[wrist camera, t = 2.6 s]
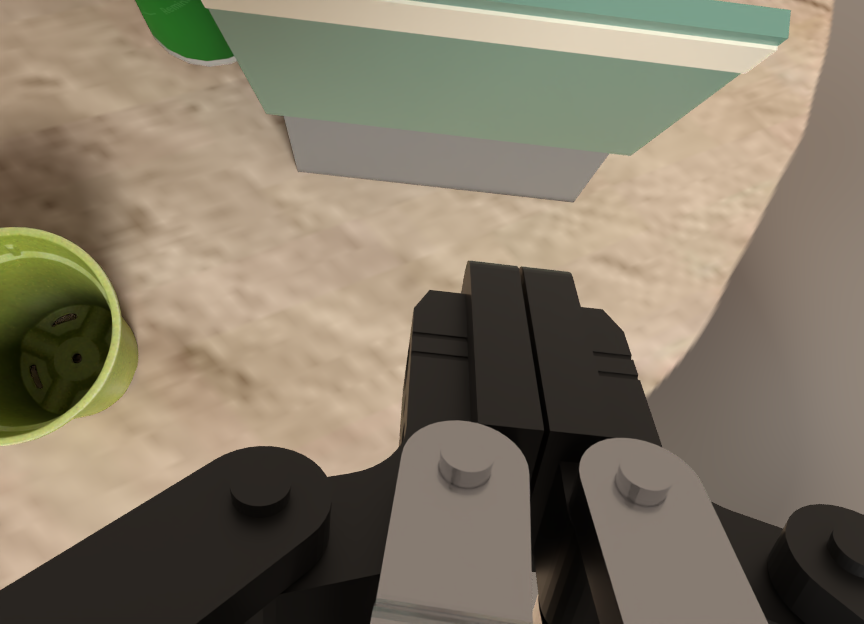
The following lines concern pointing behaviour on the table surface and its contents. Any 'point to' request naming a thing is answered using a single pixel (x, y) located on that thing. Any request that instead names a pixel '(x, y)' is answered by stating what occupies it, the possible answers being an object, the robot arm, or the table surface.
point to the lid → (498, 63)
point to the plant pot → (57, 335)
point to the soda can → (187, 31)
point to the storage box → (440, 159)
